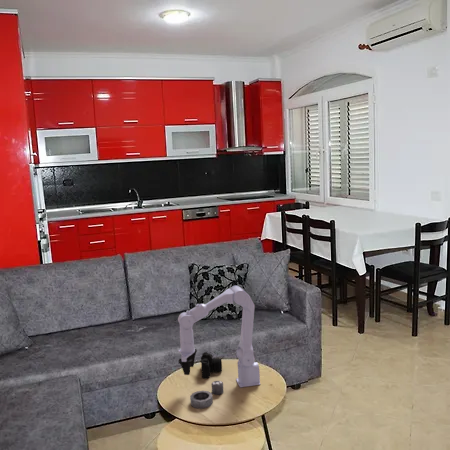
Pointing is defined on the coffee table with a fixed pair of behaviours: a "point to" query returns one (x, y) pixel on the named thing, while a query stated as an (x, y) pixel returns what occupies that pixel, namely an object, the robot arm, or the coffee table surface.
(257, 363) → the robot arm
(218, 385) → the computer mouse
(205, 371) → the film camera
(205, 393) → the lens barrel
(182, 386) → the coffee table surface
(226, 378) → the coffee table surface
